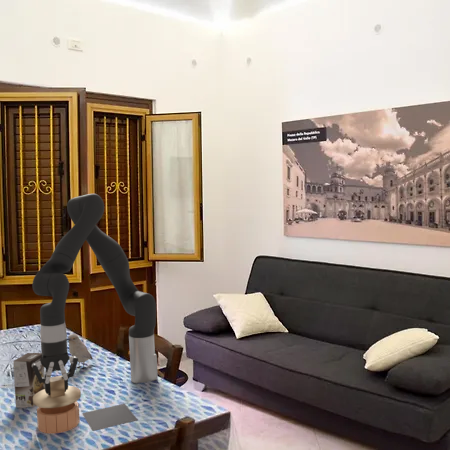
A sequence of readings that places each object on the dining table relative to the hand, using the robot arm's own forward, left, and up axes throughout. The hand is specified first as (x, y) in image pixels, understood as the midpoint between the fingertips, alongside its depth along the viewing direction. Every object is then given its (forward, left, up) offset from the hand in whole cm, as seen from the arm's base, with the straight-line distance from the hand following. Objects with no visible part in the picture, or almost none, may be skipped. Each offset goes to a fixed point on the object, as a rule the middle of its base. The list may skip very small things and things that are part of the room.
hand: (56, 392), depth 163 cm
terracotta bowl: (0, 0, -11) cm, 11 cm away
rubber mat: (-15, +3, -11) cm, 19 cm away
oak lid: (0, 0, -2) cm, 2 cm away
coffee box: (+5, -23, -11) cm, 26 cm away
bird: (-17, -48, -11) cm, 52 cm away
